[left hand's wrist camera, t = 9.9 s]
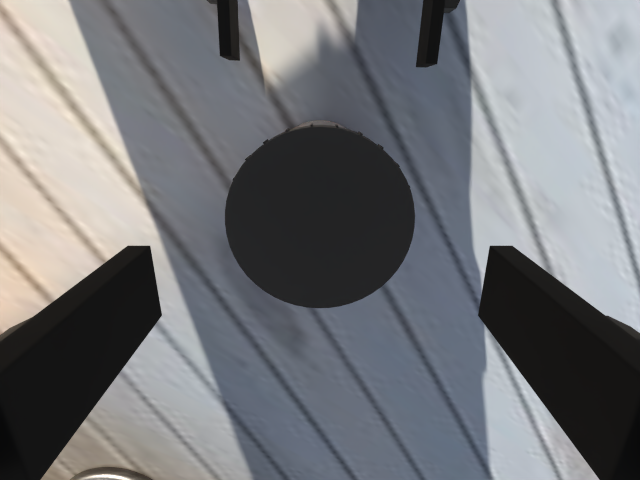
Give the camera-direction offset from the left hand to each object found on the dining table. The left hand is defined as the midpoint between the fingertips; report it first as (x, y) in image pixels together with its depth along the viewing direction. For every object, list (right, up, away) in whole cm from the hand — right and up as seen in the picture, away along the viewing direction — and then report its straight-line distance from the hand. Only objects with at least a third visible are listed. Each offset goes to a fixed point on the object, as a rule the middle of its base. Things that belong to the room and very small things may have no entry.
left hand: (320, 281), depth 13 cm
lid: (0, +2, +6) cm, 7 cm away
